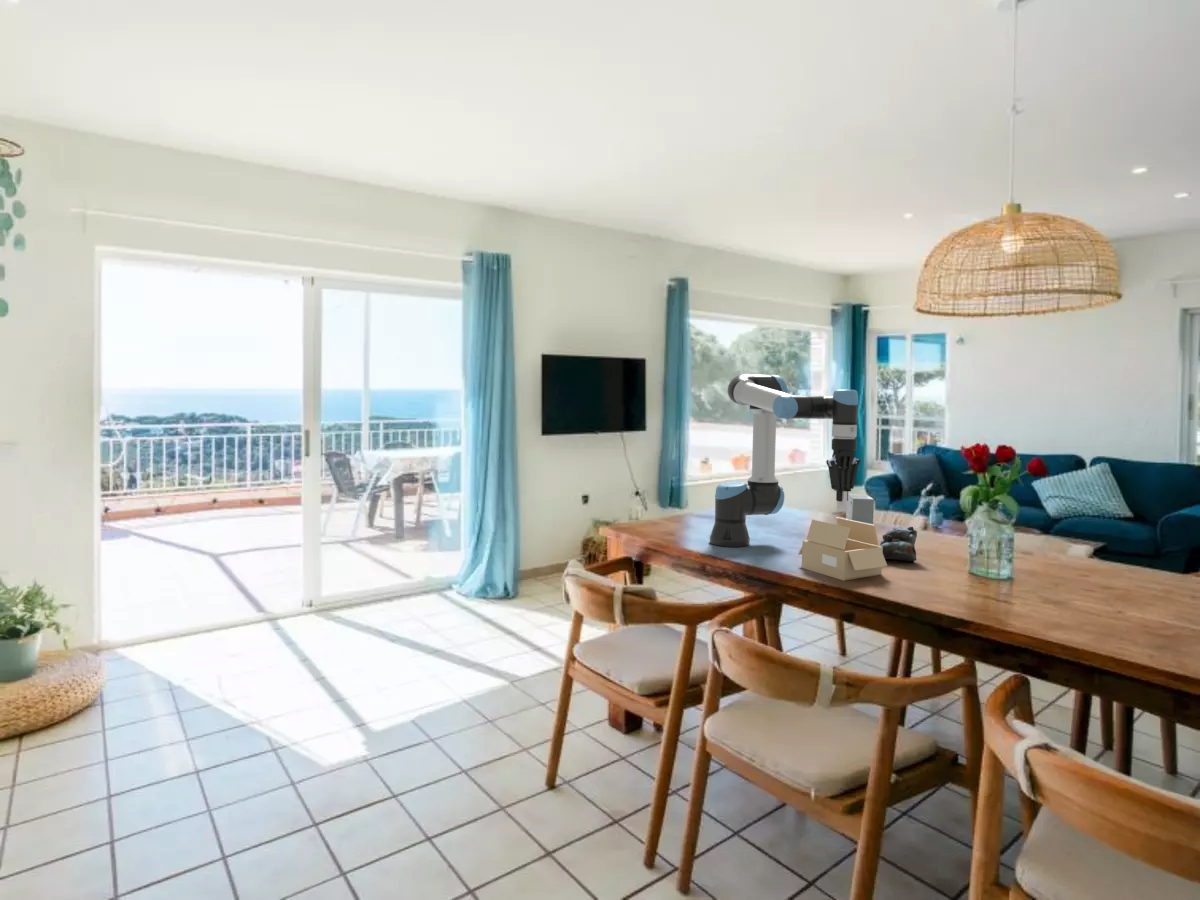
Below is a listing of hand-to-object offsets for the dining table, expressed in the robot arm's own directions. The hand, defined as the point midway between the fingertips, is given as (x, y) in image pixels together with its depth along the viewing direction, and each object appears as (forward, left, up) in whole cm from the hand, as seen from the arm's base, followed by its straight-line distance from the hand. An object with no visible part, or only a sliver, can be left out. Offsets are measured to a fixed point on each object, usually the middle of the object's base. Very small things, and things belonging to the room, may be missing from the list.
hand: (841, 511), depth 227 cm
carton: (0, +1, -20) cm, 20 cm away
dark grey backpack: (-4, +31, -20) cm, 37 cm away
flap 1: (0, -5, -7) cm, 9 cm away
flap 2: (0, +7, -7) cm, 10 cm away
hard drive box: (-22, +33, -20) cm, 45 cm away
